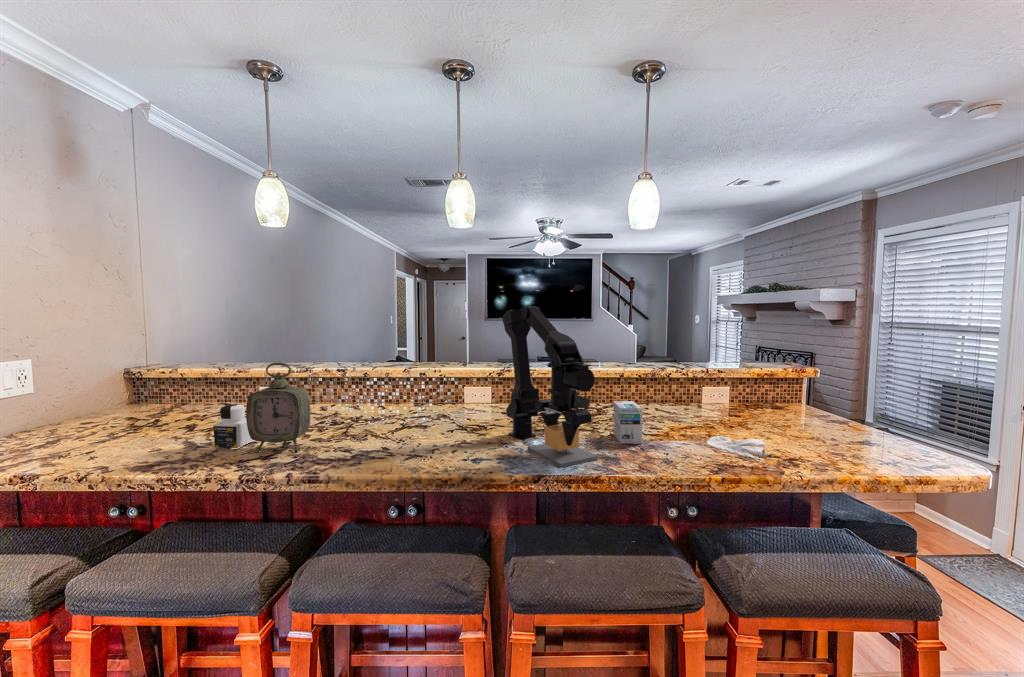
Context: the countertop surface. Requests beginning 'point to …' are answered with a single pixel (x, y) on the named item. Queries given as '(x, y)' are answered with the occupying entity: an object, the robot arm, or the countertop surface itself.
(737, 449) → the cloth
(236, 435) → the medicine bottle
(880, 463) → the countertop surface
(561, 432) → the tan wooden cube
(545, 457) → the post board
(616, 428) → the light bulb box
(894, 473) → the countertop surface
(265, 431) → the tabletop clock
